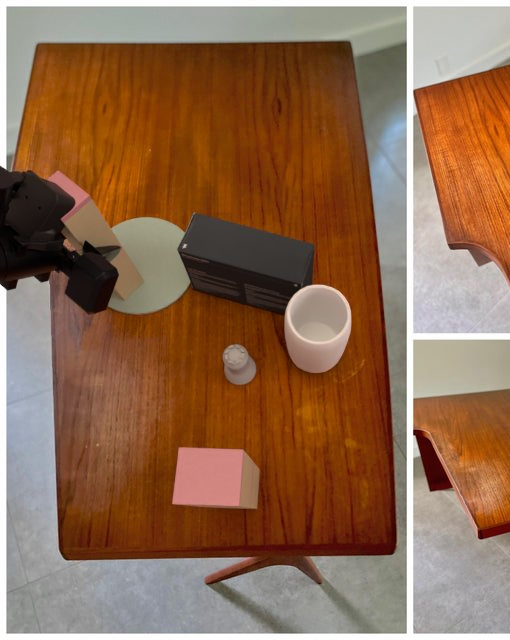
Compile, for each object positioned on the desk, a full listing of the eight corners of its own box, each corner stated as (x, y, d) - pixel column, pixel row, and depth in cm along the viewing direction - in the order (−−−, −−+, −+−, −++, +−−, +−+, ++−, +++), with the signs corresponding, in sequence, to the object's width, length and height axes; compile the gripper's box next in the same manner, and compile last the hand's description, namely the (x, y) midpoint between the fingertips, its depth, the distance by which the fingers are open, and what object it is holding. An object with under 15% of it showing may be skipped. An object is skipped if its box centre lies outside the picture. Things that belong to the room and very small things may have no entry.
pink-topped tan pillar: (124, 300, 77) (61, 219, 56) (100, 280, 78) (28, 193, 57) (145, 281, 79) (89, 195, 58) (121, 261, 80) (57, 169, 59)
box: (314, 280, 80) (316, 242, 69) (301, 320, 78) (302, 288, 67) (207, 251, 81) (192, 209, 70) (192, 290, 79) (174, 252, 68)
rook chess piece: (228, 389, 74) (220, 375, 67) (221, 359, 76) (213, 342, 68) (259, 381, 75) (255, 366, 67) (252, 351, 76) (247, 333, 69)
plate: (97, 327, 76) (96, 326, 76) (80, 233, 82) (79, 231, 81) (207, 298, 79) (206, 297, 78) (183, 208, 84) (183, 206, 83)
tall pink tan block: (210, 507, 69) (171, 504, 48) (214, 467, 70) (178, 446, 49) (257, 509, 69) (239, 506, 48) (260, 468, 71) (243, 449, 50)
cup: (277, 332, 77) (273, 294, 64) (331, 313, 79) (338, 272, 65) (297, 386, 75) (297, 358, 61) (353, 365, 76) (364, 334, 63)
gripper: (70, 245, 49) (179, 226, 63) (-59, 138, 53) (70, 141, 67) (42, 334, 55) (148, 299, 68) (-74, 231, 58) (49, 217, 72)
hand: (104, 237), depth 68 cm, fingers closed on pink-topped tan pillar, 5 cm apart
